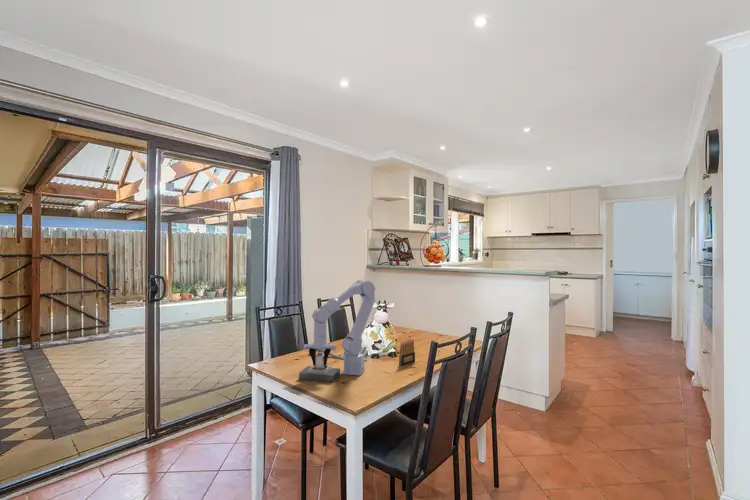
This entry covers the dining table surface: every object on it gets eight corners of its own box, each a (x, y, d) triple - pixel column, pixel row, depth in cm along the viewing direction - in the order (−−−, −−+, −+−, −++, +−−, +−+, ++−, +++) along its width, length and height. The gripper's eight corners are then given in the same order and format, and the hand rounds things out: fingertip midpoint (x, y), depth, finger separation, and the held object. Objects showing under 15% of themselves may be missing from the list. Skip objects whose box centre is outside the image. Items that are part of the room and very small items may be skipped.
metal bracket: (348, 342, 203) (373, 344, 199) (348, 351, 205) (373, 354, 200) (338, 355, 190) (364, 358, 186) (339, 365, 192) (365, 368, 187)
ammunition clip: (412, 360, 188) (412, 338, 188) (415, 361, 187) (415, 338, 187) (399, 365, 181) (399, 341, 181) (401, 366, 179) (401, 342, 180)
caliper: (310, 354, 201) (311, 342, 201) (312, 353, 202) (312, 342, 202) (340, 359, 191) (340, 347, 191) (341, 358, 192) (341, 347, 192)
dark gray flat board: (340, 375, 166) (340, 365, 166) (333, 382, 156) (333, 372, 156) (307, 372, 169) (307, 362, 169) (298, 379, 159) (298, 369, 159)
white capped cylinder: (325, 366, 165) (325, 351, 165) (324, 370, 161) (324, 354, 161) (315, 367, 165) (315, 351, 165) (314, 370, 160) (314, 354, 160)
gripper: (337, 333, 166) (337, 363, 166) (306, 333, 167) (306, 362, 167) (335, 337, 159) (334, 367, 159) (302, 336, 160) (302, 367, 160)
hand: (320, 365), depth 162 cm, fingers closed on white capped cylinder, 4 cm apart
